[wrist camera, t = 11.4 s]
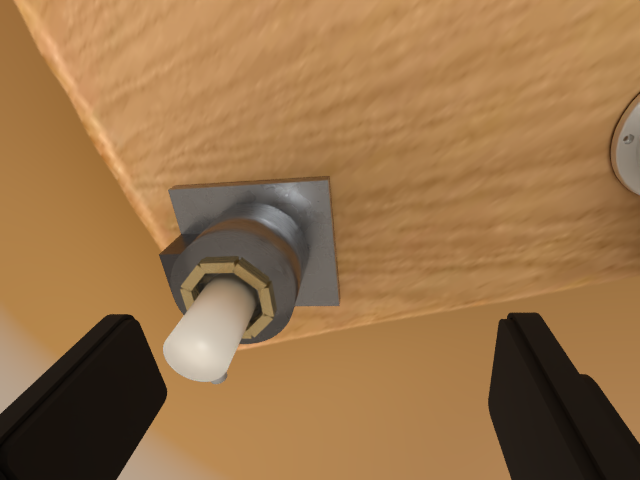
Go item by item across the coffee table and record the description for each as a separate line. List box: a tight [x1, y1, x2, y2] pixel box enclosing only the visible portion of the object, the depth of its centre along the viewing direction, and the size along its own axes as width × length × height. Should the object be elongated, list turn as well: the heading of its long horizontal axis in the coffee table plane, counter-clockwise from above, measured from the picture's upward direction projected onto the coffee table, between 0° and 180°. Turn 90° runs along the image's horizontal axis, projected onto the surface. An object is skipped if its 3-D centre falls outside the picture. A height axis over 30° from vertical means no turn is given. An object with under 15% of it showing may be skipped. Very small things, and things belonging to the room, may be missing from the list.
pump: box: [163, 273, 258, 384], centre depth 30 cm, size 5×7×8 cm
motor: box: [159, 176, 340, 344], centre depth 37 cm, size 18×16×12 cm
